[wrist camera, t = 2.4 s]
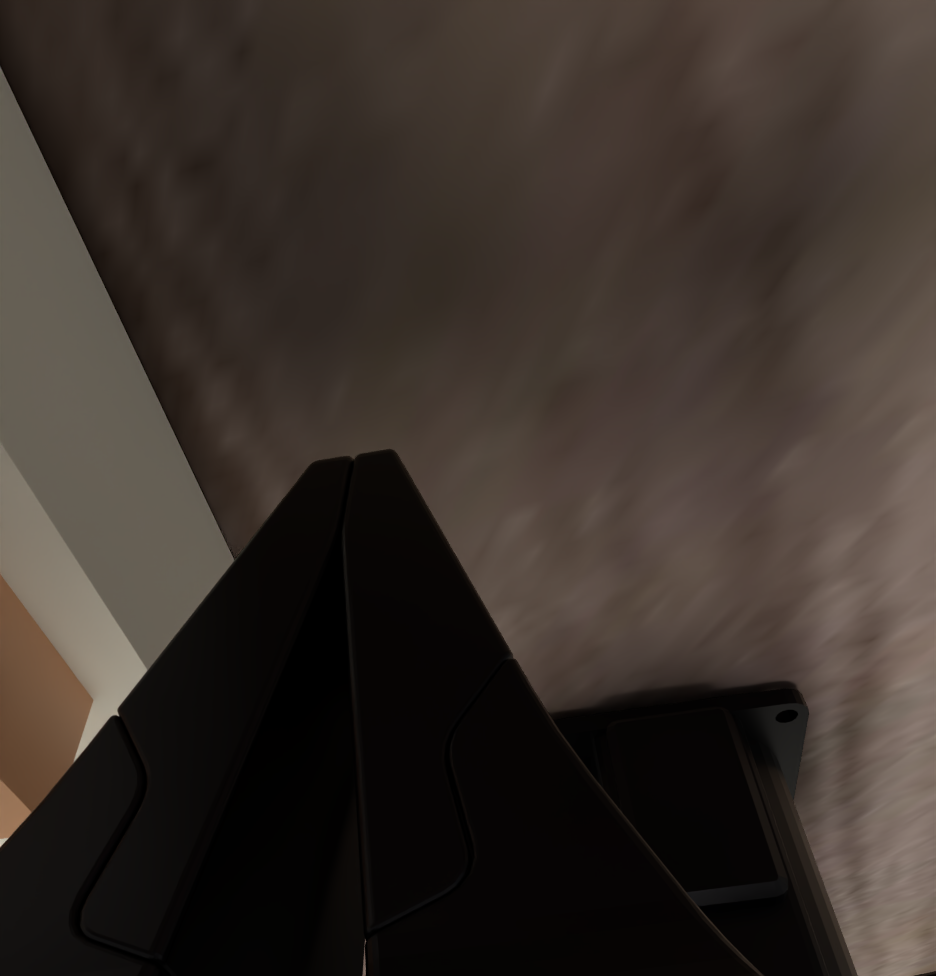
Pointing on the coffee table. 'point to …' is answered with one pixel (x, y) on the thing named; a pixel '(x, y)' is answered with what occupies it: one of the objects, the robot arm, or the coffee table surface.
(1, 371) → the cream flat block
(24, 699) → the tile
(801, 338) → the coffee table surface
